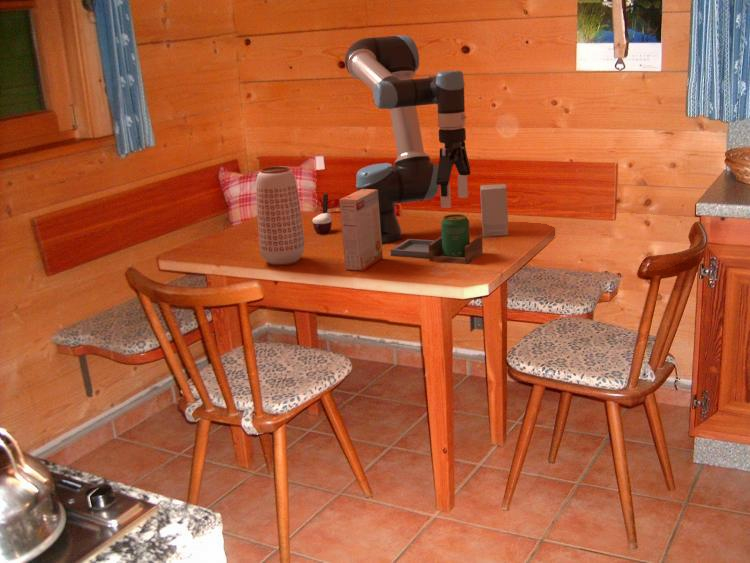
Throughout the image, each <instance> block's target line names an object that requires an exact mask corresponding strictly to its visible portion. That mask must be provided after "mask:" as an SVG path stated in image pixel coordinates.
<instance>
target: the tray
mask: <svg viewBox="0 0 750 563" xmlns="http://www.w3.org/2000/svg"><path fill="white" fill-rule="evenodd" d="M433 241H435V240H431V239H416V238H407V239H406V240H404V241H402V242H401V243H399V244H398V245H396V246H395V247H393V248H392V249H390V256H392V257H404V258H405V257H406V258H418V259H419V258H420V259H429V244H430V243H432V242H433Z"/></svg>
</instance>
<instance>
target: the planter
mask: <svg viewBox="0 0 750 563" xmlns="http://www.w3.org/2000/svg"><path fill="white" fill-rule="evenodd" d="M255 183H256V184H255V185H256V187H255V188H256V192H255V194H256V196H255V197H256V219H257V230H258V241H259V242H258V243H259V250H260V254H261V255H262V256H261V257H263V259H264V260H265V261H266V262H268V263H269V265H270V266H277V267H282V266H283V267H284V266H290V265H294V264H297V263H298V262H299V260H300V259H301V258H302V255H303V254H304V251H305V244H306V243H305V234H304V227H303V218H302V210H301V205H300V203H301V202H300V198H299V196H300V195H299V191H298V187H297V186H298V185H297V181H296V176H295V174H294V172H293V171H292V169H290V168H289V167H288V166H284V165H283V166H282V165H280V166H279V165H277V166H268V167H264V168H261V169H260V171H259V172H258V174H257V176H256V182H255Z"/></svg>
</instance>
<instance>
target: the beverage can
mask: <svg viewBox="0 0 750 563" xmlns="http://www.w3.org/2000/svg"><path fill="white" fill-rule="evenodd" d="M440 224H441V226H440V227H441V228H440V229H441V236H442V256H448V257H462V258H465V246H466V245H468V244H469V243H471V242H470V221H469V219H468V216H467V215H466V214H459V213H458V214H457V213H456V214H454V213H453V214H448V215H447V214H446V215H444V216H443V217H442V220H441V222H440Z"/></svg>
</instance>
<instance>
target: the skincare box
mask: <svg viewBox="0 0 750 563" xmlns="http://www.w3.org/2000/svg"><path fill="white" fill-rule="evenodd" d="M479 188H480V209H481V210H480V211H481V228H482V230H481V231H482V238H486V236H487V237H500V236H501V237H502V236H504V237H505V236H508V235H509V218H508V213H509V212H508V188H507V185H506V183H498V184H497V183H496V184H494V183H493V184H481V185H480V187H479Z"/></svg>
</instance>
